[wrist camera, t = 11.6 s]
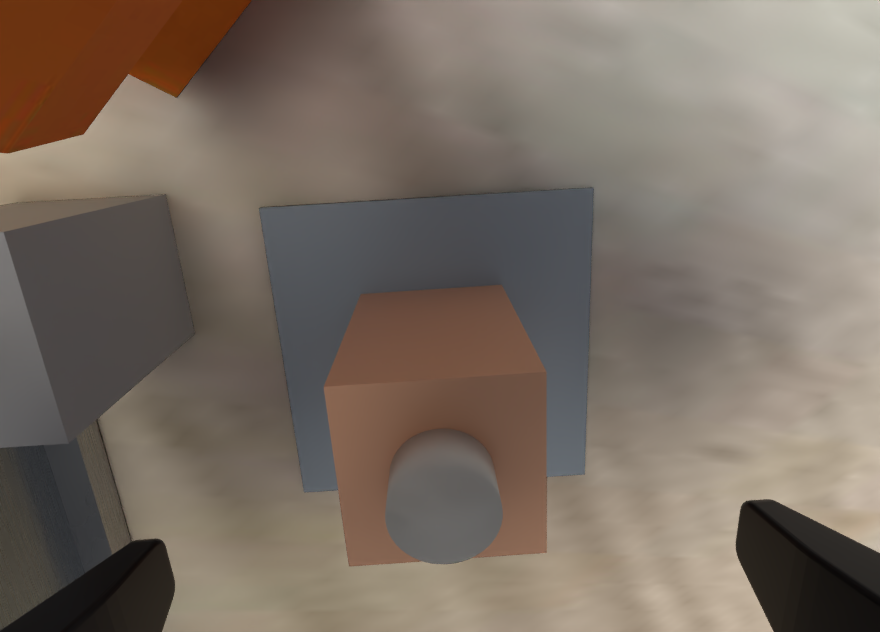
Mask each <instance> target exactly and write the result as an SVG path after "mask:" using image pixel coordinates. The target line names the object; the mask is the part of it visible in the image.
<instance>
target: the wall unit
mask: <svg viewBox="0 0 880 632" xmlns="http://www.w3.org/2000/svg"><path fill="white" fill-rule="evenodd" d="M130 542H131V539H130V536H129V532H128V529H127V525H126V522H125V518H124V515H123V511H122V508H121V504H120V501H119V497H118V494H117V490H116V487H115V483H114V480H113V476H112V473H111V470H110V466H109V463H108V459H107V456H106V452H105V449H104V445H103V442H102V438H101V435H100V431H99V428H98V424H97V421H96V420H95V421H94V422H93V423H92V424H91V425H89V426H88V427H87V428H86V429H85V430H84V431H83V432H81V433H80V434H79V435H78V436H77V437H76V438H74V439H73V440H72V441H71V442H70V443H69V444H53V445H37V446H21V447H5V448H0V630H1V629H3V628H4V627H6V626H7V625H9V624H10V623H12V622H13V621H15V620H16V619H18V618H19V617H21V616H22V615H24V614H25V613H27V612H28V611H29V610H31V609H32V608H34V607H35V606H37V605H38V604H40V603H41V602H43V601H44V600H46V599H47V598H49V597H50V596H52V595H53V594H55V593H56V592H58V591H59V590H61V589H62V588H64V587H65V586H66V585H68V584H69V583H71V582H72V581H74V580H75V579H77V578H78V577H80V576H81V575H83V574H84V573H86V572H87V571H89V570H90V569H92V568H93V567H95V566H96V565H98V564H99V563H101V562H102V561H103V560H105V559H106V558H108V557H109V556H111V555H112V554H114V553H115V552H117V551H118V550H120V549H121V548H123V547H124V546H126V545H127V544H129V543H130Z"/></svg>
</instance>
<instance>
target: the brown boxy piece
mask: <svg viewBox="0 0 880 632" xmlns="http://www.w3.org/2000/svg"><path fill="white" fill-rule="evenodd" d="M324 393H325V400H326V407H327V414H328V422H329V429H330V436H331V443H332V450H333V457H334V464H335V471H336V478H337V485H338V492H339V499H340V506H341V513H342V520H343V527H344V534H345V541H346V548H347V555H348V562H349V566H362V565H377V564H391V563H405V562H420V561H424V562H428V563H433V564H451V563H457V562H462V561H465V560H468V559H470V558H477V557H491V556H506V555H520V554H535V553H547V372H546V370H545V368H544V366H543V364H542V362H541V360H540V358H539V356H538V354H537V352H536V350H535V348H534V346H533V345H532V343H531V341H530V339H529V337H528V335H527V333H526V331H525V329H524V327H523V325H522V323H521V321H520V319H519V317H518V315H517V313H516V311H515V310H514V308H513V306H512V304H511V302H510V300H509V298H508V296H507V294H506V292H505V290H504V288H503V286H502V285H490V286H475V287H460V288H444V289H429V290H414V291H399V292H384V293H369V294H361V295H360V297H359V300H358V302H357V305H356V307H355V310H354V312H353V315H352V317H351V320H350V322H349V325H348V327H347V330H346V332H345V335H344V337H343V340H342V342H341V345H340V347H339V350H338V352H337V355H336V357H335V360H334V362H333V365H332V367H331V370H330V372H329V375H328V377H327V380H326V382H325V385H324Z"/></svg>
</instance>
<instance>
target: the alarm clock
mask: <svg viewBox="0 0 880 632" xmlns="http://www.w3.org/2000/svg"><path fill="white" fill-rule="evenodd" d="M251 1H252V0H0V153H12V152H16V151H20V150H24V149H28V148H31V147H35V146H39V145H43V144H47V143H51V142H55V141H59V140H63V139H67V138H71V137H75V136H79V135H83V134H84V133H85V132H86V130H87V129H88V128H89V126H90V125H91V123H92V122H93V121H94V119H95V118H96V117H97V115H98V114H99V113H100V111H101V110H102V109H103V107H104V106H105V105H106V103H107V102H108V100H109V99H110V98H111V96H112V95H113V94H114V92H115V91H116V90H117V88H118V87H119V86H120V84H121V83H122V82H123V80H124V79H125V78H126V76H127V75H128V74H130V75H132V76H134V77H136V78H138V79H140V80H142V81H144V82H146V83H148V84H150V85H152V86H154V87H156V88H158V89H160V90H162V91H164V92H166V93H168V94H170V95H172V96H174V97H176V98H177V97H178V95H179V94H180V93H181V91H182V90H183V89H184V87H185V86H186V85H187V84H188V82H189V81H190V80H191V78H192V77H193V76H194V75H195V73H196V72H197V71H198V69H199V68H200V67H201V65H202V64H203V63H204V62H205V60H206V59H207V58H208V56H209V55H210V54H211V53H212V51H213V50H214V49H215V47H216V46H217V45H218V43H219V42H220V41H221V40H222V38H223V37H224V36H225V34H226V33H227V32H228V31H229V29H230V28H231V27H232V25H233V24H234V23H235V21H236V20H237V19H238V18H239V16H240V15H241V14H242V12H243V11H244V10H245V8H246V7H247V6H248V5H249V3H250V2H251Z"/></svg>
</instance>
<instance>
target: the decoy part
mask: <svg viewBox="0 0 880 632" xmlns="http://www.w3.org/2000/svg"><path fill="white" fill-rule="evenodd" d="M194 334H195V332H194V327H193V322H192V317H191V312H190V308H189V303H188V298H187V293H186V288H185V284H184V279H183V274H182V269H181V265H180V260H179V255H178V250H177V245H176V241H175V236H174V231H173V226H172V221H171V217H170V212H169V207H168V202H167V197H166V194H160V195H142V196H125V197H108V198H90V199H73V200H56V201H39V202H21V203H12V204H6V205H0V448H5V447H21V446H37V445H53V444H69V443H70V442H71V441H72V440H73V439H74V438H76V437H77V436H78V435H79V434H80V433H81V432H83V431H84V430H85V429H86V428H87V427H88V426H89V425H91V424H92V423H93V422H94V421H95V420H96V419H97V418H99V417H100V416H101V415H102V414H103V413H104V412H105V411H107V410H108V409H109V408H110V407H111V406H112V405H113V404H115V403H116V402H117V401H118V400H119V399H120V398H122V397H123V396H124V395H125V394H126V393H127V392H128V391H130V390H131V389H132V388H133V387H134V386H135V385H136V384H138V383H139V382H140V381H141V380H142V379H143V378H144V377H146V376H147V375H148V374H149V373H150V372H151V371H152V370H154V369H155V368H156V367H157V366H158V365H159V364H161V363H162V362H163V361H164V360H165V359H166V358H167V357H169V356H170V355H171V354H172V353H173V352H174V351H175V350H177V349H178V348H179V347H180V346H181V345H182V344H183V343H185V342H186V341H187V340H188V339H189V338H190V337H192V336H193V335H194Z"/></svg>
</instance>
